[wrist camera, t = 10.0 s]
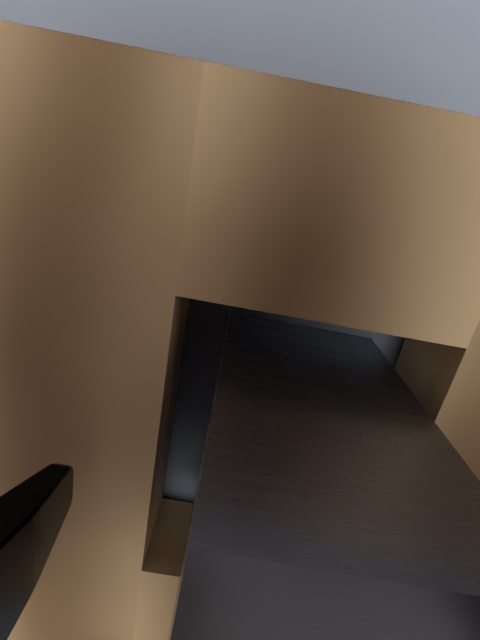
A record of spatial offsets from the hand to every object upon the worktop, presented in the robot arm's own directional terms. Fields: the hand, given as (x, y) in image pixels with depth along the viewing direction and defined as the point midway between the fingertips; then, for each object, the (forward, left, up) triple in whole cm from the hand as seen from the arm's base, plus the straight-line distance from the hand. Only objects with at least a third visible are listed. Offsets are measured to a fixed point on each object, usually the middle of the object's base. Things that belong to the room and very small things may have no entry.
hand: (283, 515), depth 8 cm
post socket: (0, 0, -4) cm, 4 cm away
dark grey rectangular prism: (0, 0, -4) cm, 4 cm away
